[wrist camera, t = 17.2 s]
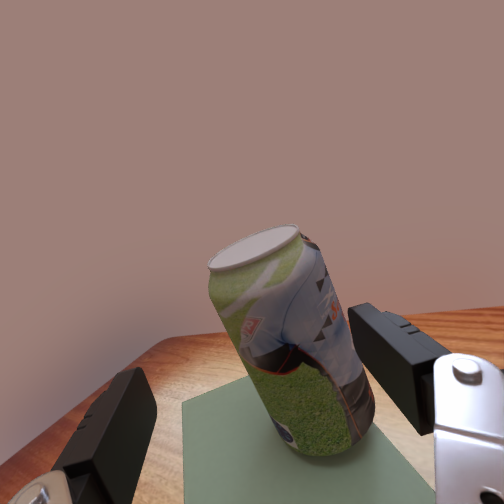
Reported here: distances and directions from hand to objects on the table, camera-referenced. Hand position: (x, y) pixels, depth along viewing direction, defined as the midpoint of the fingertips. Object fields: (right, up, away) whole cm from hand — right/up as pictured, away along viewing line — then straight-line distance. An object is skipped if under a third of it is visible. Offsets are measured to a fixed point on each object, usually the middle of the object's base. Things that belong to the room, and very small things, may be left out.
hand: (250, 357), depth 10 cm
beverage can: (+4, -7, +6) cm, 10 cm away
